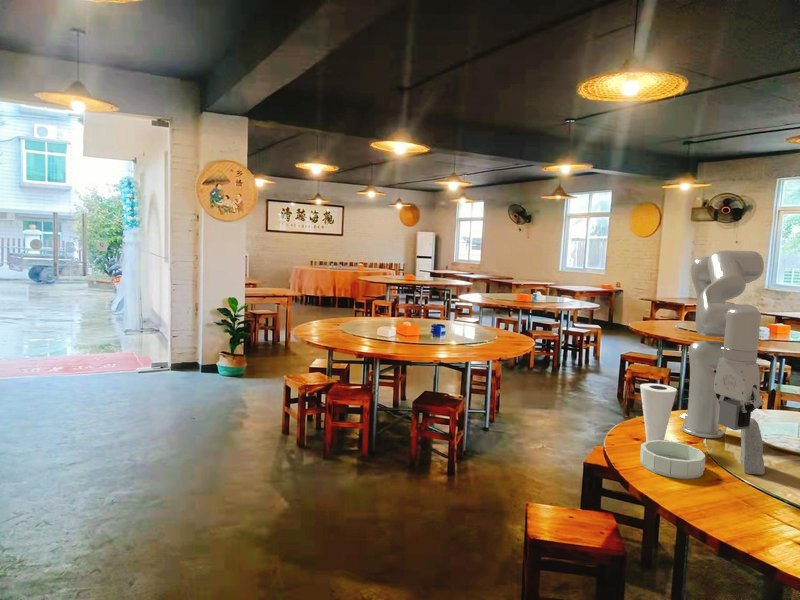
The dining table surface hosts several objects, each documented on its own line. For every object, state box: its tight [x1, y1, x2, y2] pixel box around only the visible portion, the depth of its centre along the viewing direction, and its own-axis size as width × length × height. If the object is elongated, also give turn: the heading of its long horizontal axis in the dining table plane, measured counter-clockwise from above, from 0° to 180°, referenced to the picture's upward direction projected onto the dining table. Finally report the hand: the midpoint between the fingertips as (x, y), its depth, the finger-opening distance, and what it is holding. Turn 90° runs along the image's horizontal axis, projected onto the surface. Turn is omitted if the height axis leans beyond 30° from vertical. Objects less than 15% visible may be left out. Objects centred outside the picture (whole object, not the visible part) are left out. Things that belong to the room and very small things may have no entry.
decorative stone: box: [740, 417, 766, 476], centre depth 155 cm, size 11×6×15 cm, turn 156°
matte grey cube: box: [718, 399, 752, 431], centre depth 143 cm, size 5×5×6 cm
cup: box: [639, 382, 678, 442], centre depth 174 cm, size 11×11×18 cm
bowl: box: [639, 439, 706, 480], centre depth 155 cm, size 16×16×5 cm
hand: (734, 422), depth 144 cm, fingers closed on matte grey cube, 5 cm apart
